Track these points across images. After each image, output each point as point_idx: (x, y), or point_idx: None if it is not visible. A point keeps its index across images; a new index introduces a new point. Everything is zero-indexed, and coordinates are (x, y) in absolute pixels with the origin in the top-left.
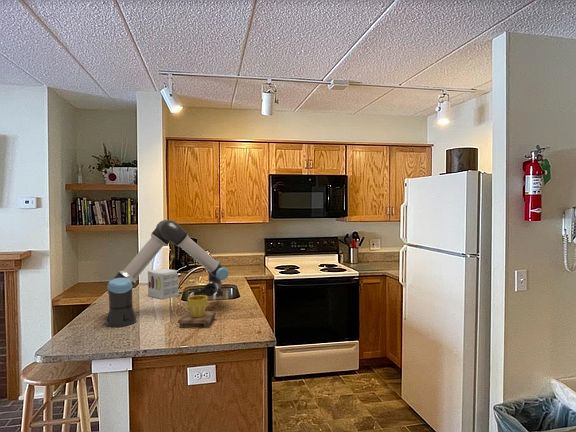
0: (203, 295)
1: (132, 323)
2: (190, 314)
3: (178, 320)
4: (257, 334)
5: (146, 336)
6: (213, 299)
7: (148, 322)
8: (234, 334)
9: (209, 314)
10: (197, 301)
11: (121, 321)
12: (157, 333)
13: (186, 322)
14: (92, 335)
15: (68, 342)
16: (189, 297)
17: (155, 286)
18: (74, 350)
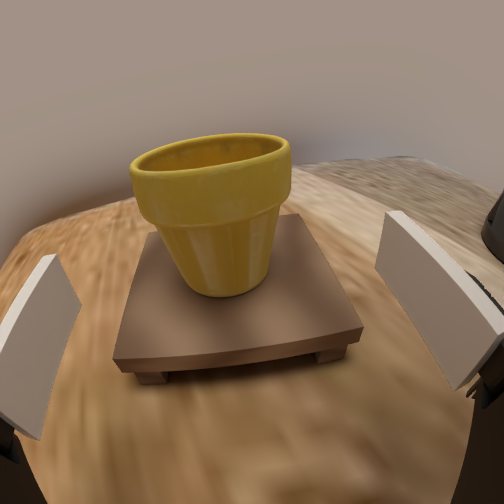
0: (167, 171)
1: (488, 245)
2: (289, 278)
3: (296, 214)
4: (32, 246)
5: (344, 195)
6: (80, 305)
7: (469, 269)
8: (80, 237)
9: (152, 294)
10: (194, 146)
11: (488, 214)
12: (333, 208)
13: None
14: (461, 194)
15: (451, 177)
16: (282, 143)
17: None
18: (403, 163)
